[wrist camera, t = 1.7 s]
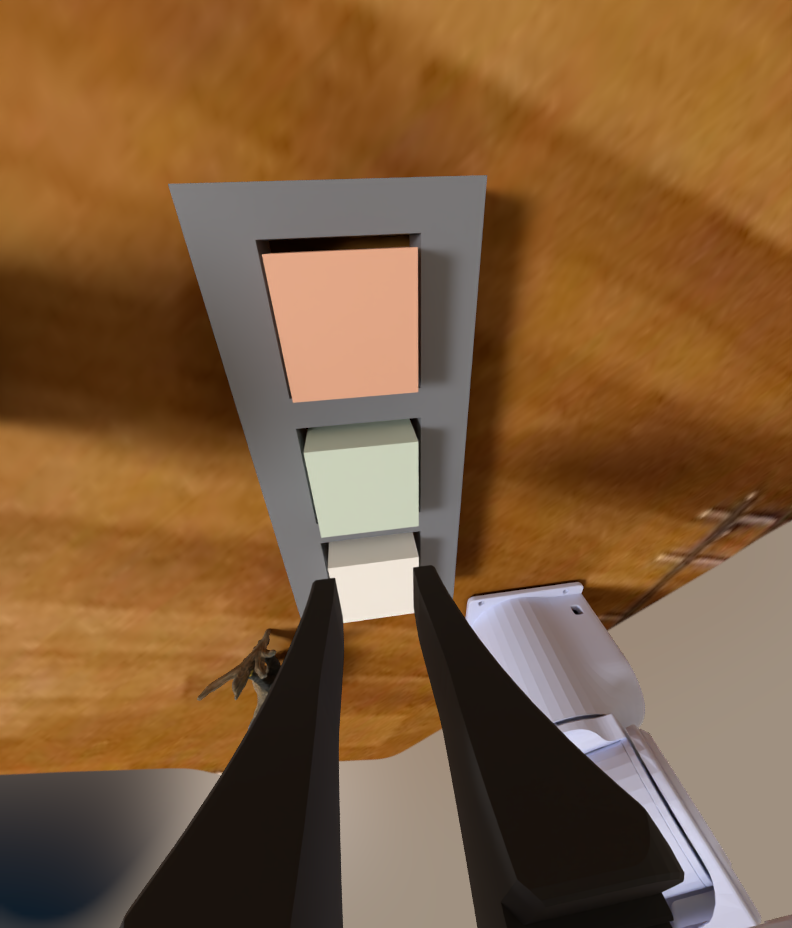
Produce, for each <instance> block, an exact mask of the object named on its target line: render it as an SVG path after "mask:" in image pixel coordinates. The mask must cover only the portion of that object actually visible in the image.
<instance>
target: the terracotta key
mask: <svg viewBox="0 0 792 928" xmlns="http://www.w3.org/2000/svg"><path fill="white" fill-rule="evenodd" d="M262 257H263V262H264V267H265V272H266V277H267V281H268V286H269V291H270V296H271V300H272V305H273V310H274V315H275V319H276V324H277V329H278V334H279V338H280V343H281V348H282V353H283V357H284V362H285V367H286V372H287V377H288V381H289V386H290V391H291V396H292V400H293V403H296V402H308V401H320V400H332V399H344V398H355V397H367V396H379V395H391V394H403V393H415V392H418V247H390V248H368V249H346V250H324V251H302V252H280V253H269V254H262Z"/></svg>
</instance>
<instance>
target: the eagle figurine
mask: <svg viewBox="0 0 792 928" xmlns="http://www.w3.org/2000/svg"><path fill="white" fill-rule="evenodd" d="M269 635H270V629H267V630H266V631H265V634H264V636H263V638H262V640H259V641H258V644H257V646H255V647H254V649H253V651H252V652H251V653H250V654H249V655H248V656H247V657H246V658H245V659H244V660H243V662H242V663H241V664H240V665H238V666H236V667H235V668H234V669H232V670H231V671H229V672H228V673H226V674H225V675H223V676H221V677H220V678H218V679H217V680H215V681H214V682H212V683H211V684H209V685H208V686H207V687H206V688H205V689H204V691H203V692H202V693H201V694H200V695H199V696H198V698H197V700H199V701H200V700H202V699H203V698H204V697H206V696H207V695H208V694H209V693H211V692H213V691H215V690H216V689H218V688H219V687H221V686H222V685H223V684H224V683H226V682H227V681H229V680H231V679H234V680H233V683H232V689H233V692H234V694H235V700H237V698H238V697H239V695H240V693H241V692H242V690H243V688H244V687H245V685H246V683H247V681H248V678H249V679H251V680H252V681H253V686H254V689H255V691H256V692H257V695H258V705H257V707H256V709H255V712H254V717H253V719H252V721H251V723H250V725H249V728H250V726H251V724H252V722H253V720H254V719H255V717H256V715H257V713H258V711H259V710H260V708H261V706H262V704H263V702H264V700H265V698H266V696H267V694H268V692H269V690H270V688H271V686H272V684H273V682H274V680H275V678H276V676H277V674H278V672H279V669H280V667H281V666H280V663H279V660H278V659H277V658H276V657H275V656H274V655H275V654H276V651H275V650H271V651H270V650H267V649H266V648H267V645H268V644H269V641H270V639H269ZM265 662H266V664H267V666H265V665H264V663H265ZM249 728H248V729H249Z"/></svg>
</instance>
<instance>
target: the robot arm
mask: <svg viewBox="0 0 792 928" xmlns="http://www.w3.org/2000/svg"><path fill="white" fill-rule="evenodd" d="M582 590H583V586H582V584H581V583H580V582H573V583H566V584H559V585H552V586H545V587H537V588H530V589H523V590H516V591H509V592H502V593H495V594H488V595H480V596H474V597H471V598H469V599H468V602H467V611H466V619H465V617H464V616H463V614H462V613H461V611H460V610H459V608H458V607H457V605H456V604H455V602H454V601H453V599H452V597H451V596H450V594H449V593H448V591H447V589H446V587H445V586H444V584H443V582H442V580H441V578H440V577H439V575H438V573H437V571H436V569H435V567H434V566H432V565H428V566H420V567H413V603H414V613H415V619H416V625H417V631H418V637H419V641H420V645H421V649H422V653H423V657H424V660H425V664H426V668H427V672H428V675H429V679H430V683H431V686H432V690H433V694H434V698H435V701H436V705H437V709H438V713H439V717H440V721H441V725H442V730H443V734H444V740H445V745H446V750H447V756H448V760H449V766H450V771H451V777H452V783H453V788H454V794H455V799H456V805H457V810H458V816H459V822H460V827H461V833H462V838H463V845H464V850H465V856H466V862H467V868H468V874H469V880H470V885H471V891H472V897H473V904H474V909H475V916H476V922H477V927H478V928H792V915H788V916H784V917H780V918H776V919H772V920H768V921H765V923H764V924H760V923H761V915H760V913H759V911H758V910H757V908H756V906H755V905H754V903H753V902H752V900H751V898H750V897H749V895H748V893H747V892H746V890H745V888H744V887H743V885H742V884H741V882H740V880H739V879H738V877H737V876H736V874H735V872H734V871H733V869H732V864H731V862H730V860H729V858H728V857H727V855H726V853H725V852H724V850H723V849H722V847H721V845H720V844H719V842H718V841H717V839H716V838H715V836H714V834H713V833H712V831H711V830H710V828H709V826H708V825H707V823H706V821H705V820H704V819H703V817H702V815H701V814H700V812H699V810H698V809H697V807H696V806H695V804H694V802H693V801H692V799H691V798H690V796H689V795H688V794H687V791H686V790H685V788H684V787H683V785H682V784H681V782H680V780H679V779H678V777H677V776H676V774H675V772H674V771H673V769H672V768H671V766H670V765H669V763H668V761H667V760H666V758H665V757H664V755H663V753H662V752H661V750H660V749H659V747H658V746H657V744H656V743H655V741H654V740H653V738H652V736H651V735H650V733H648V732H646V731H644V730H642V729H639V728H638V727H639V726H641V724H642V723H643V720H644V716H645V703H644V698H643V694H642V691H641V688H640V685H639V683H638V680H637V678H636V676H635V673H634V671H633V669H632V668H631V666H630V664H629V662H628V661H627V659H626V658H625V656H624V655H623V653H622V652H621V651H620V649H619V648H618V646H617V645H616V643H615V642H614V640H613V639H612V637H611V636H610V634H609V633H608V631H607V630H606V629H605V627H604V626H603V624H602V623H601V621H600V620H599V618H598V617H597V615H596V614H595V613H594V611H593V610H592V608H591V607H590V605H589V604H588V602H587V601H586V599H585V598H584V597H583V595H582V594H581V593H582ZM343 661H344V633H343V615H342V610H341V605H340V600H339V595H338V590H337V585H336V580H335V578H328V579H321V580H315V581H314V582H313V583H312V587H311V591H310V594H309V597H308V601H307V604H306V607H305V609H304V612H303V615H302V618H301V620H300V623H299V626H298V628H297V631H296V633H295V635H294V638H293V640H292V643H291V645H290V648H289V650H288V652H287V654H286V657H285V659H284V661H283V663H282V665H281V667H280V669H279V672H278V674H277V676H276V678H275V680H274V682H273V684H272V686H271V688H270V690H269V692H268V694H267V696H266V698H265V700H264V702H263V704H262V706H261V708H260V710H259V711H258V713H257V715H256V717H255V719H254V720H253V722H252V724H251V726H250V728H249V729H248V731H247V733H246V735H245V736H244V738H243V740H242V741H241V743H240V745H239V747H238V748H237V750H236V752H235V753H234V755H233V757H232V758H231V760H230V762H229V763H228V765H227V767H226V768H225V770H224V772H223V773H222V775H221V776H220V778H219V780H218V781H217V783H216V784H215V786H214V787H213V789H212V790H211V792H210V793H209V795H208V797H207V798H206V800H205V801H204V802H203V804H202V805H201V807H200V808H199V810H198V812H197V813H196V815H195V816H194V818H193V819H192V821H191V822H190V824H189V825H188V827H187V828H186V830H185V831H184V833H183V834H182V836H181V837H180V838H179V840H178V841H177V843H176V844H175V846H174V847H173V849H172V850H171V851H170V853H169V854H168V856H167V857H166V858H165V860H164V861H163V862H162V864H161V865H160V867H159V868H158V869H157V871H156V872H155V874H154V875H153V877H152V878H151V879H150V881H149V882H148V883H147V885H146V886H145V887H144V889H143V890H142V892H141V893H140V894H139V896H138V897H137V899H136V900H135V902H134V903H133V904H132V906H131V907H130V909H129V910H128V912H127V913H126V915H125V917H124V919H123V921H122V923H121V926H120V928H343V915H342V886H341V852H340V851H341V850H340V807H339V726H340V710H341V694H342V677H343ZM627 732H628V733H627Z"/></svg>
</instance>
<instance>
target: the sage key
mask: <svg viewBox="0 0 792 928" xmlns="http://www.w3.org/2000/svg"><path fill="white" fill-rule="evenodd" d="M304 457H305V462H306V467H307V472H308V477H309V481H310V486H311V491H312V496H313V500H314V505H315V510H316V515H317V519H318V524H319V529H320V534H321V538H324V537H332V536H340V535H349V534H357V533H366V532H374V531H382V530H391V529H399V528H407V527H416V526H419V475H418V439H417V437H416V434H415V432H414V429H413V427H412V424H411V421H410V419H399V420H388V421H377V422H366V423H355V424H344V425H333V426H322V427H311V428H308V431H307V437H306V442H305V448H304Z"/></svg>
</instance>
